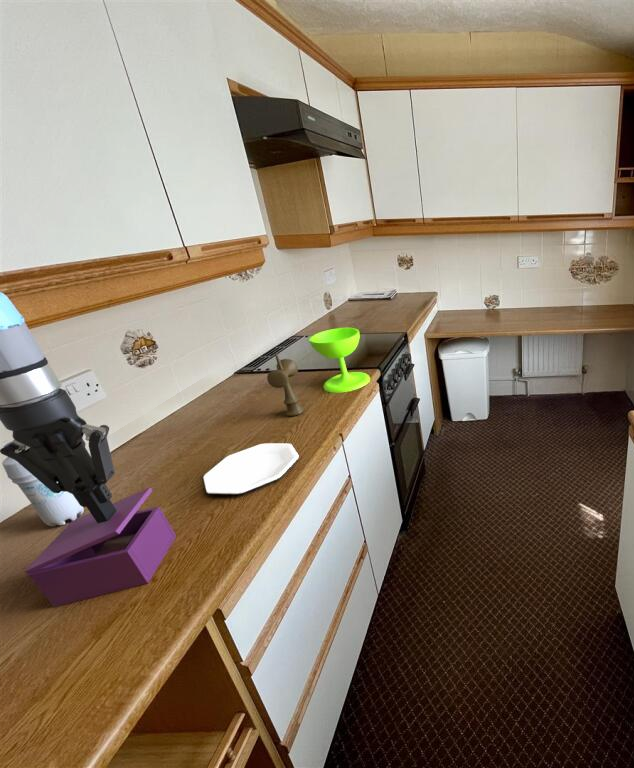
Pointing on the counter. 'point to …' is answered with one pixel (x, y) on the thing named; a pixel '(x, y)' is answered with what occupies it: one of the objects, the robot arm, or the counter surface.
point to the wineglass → (340, 357)
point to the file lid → (89, 532)
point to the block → (115, 545)
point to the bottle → (43, 496)
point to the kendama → (286, 384)
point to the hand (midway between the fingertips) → (107, 516)
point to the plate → (250, 468)
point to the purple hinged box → (109, 562)
